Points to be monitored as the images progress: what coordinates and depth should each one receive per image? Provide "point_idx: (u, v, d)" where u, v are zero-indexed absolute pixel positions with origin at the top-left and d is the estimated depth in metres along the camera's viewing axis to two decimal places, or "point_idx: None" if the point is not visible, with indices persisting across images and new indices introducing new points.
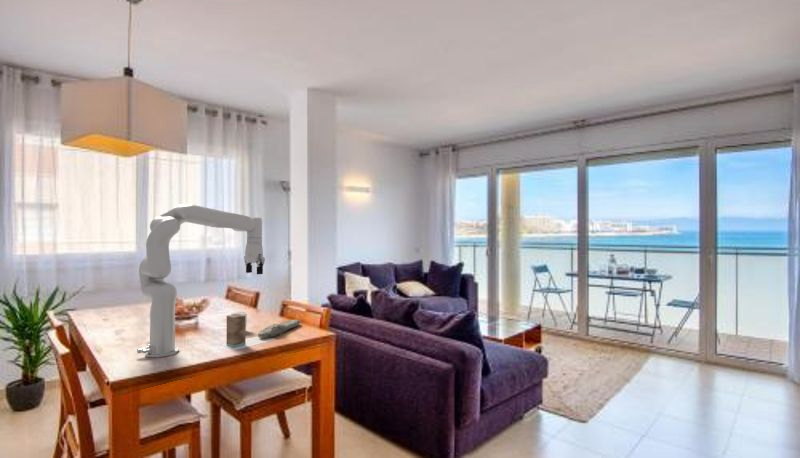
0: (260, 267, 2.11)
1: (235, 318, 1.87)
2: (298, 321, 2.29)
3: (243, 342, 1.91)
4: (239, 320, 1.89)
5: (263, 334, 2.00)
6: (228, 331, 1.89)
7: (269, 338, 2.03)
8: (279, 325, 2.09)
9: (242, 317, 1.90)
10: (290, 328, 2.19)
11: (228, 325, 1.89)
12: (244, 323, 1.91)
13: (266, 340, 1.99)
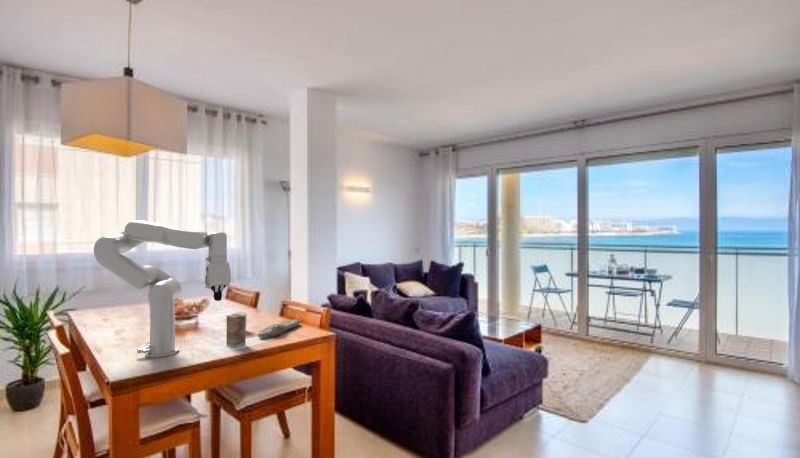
0: None
1: (235, 318, 1.87)
2: (298, 321, 2.29)
3: (243, 342, 1.91)
4: (239, 320, 1.89)
5: (263, 334, 2.00)
6: (228, 331, 1.89)
7: (269, 338, 2.03)
8: (279, 325, 2.09)
9: (242, 317, 1.90)
10: (290, 328, 2.19)
11: (228, 325, 1.89)
12: (244, 323, 1.91)
13: (266, 340, 1.99)
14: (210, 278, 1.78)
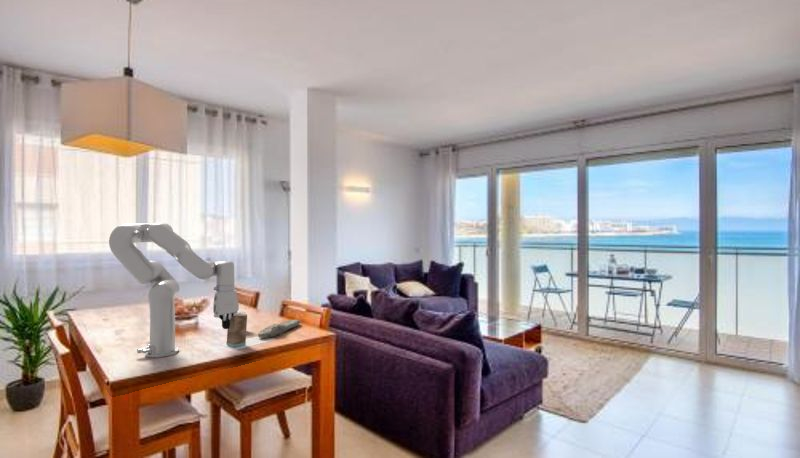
0: None
1: (237, 317, 1.88)
2: (298, 321, 2.29)
3: (243, 342, 1.91)
4: (240, 319, 1.89)
5: (263, 334, 2.00)
6: (229, 330, 1.90)
7: (269, 338, 2.03)
8: (279, 325, 2.09)
9: (244, 317, 1.91)
10: (290, 328, 2.19)
11: None
12: (245, 323, 1.91)
13: (266, 340, 1.99)
14: (218, 307, 1.81)
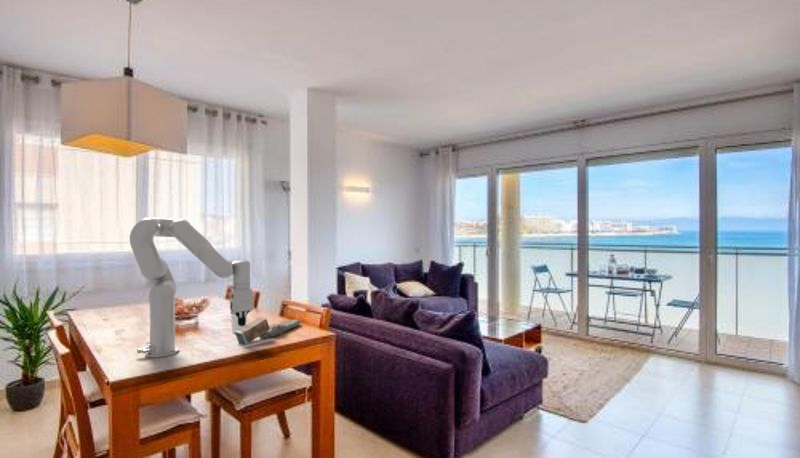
0: None
1: (266, 321, 2.00)
2: (298, 321, 2.29)
3: (247, 341, 1.92)
4: (265, 325, 2.00)
5: (263, 334, 2.00)
6: (248, 324, 1.98)
7: (269, 338, 2.03)
8: (279, 325, 2.09)
9: (267, 327, 2.01)
10: (290, 328, 2.20)
11: (253, 321, 2.00)
12: (263, 332, 1.99)
13: (266, 340, 1.99)
14: (235, 305, 1.88)
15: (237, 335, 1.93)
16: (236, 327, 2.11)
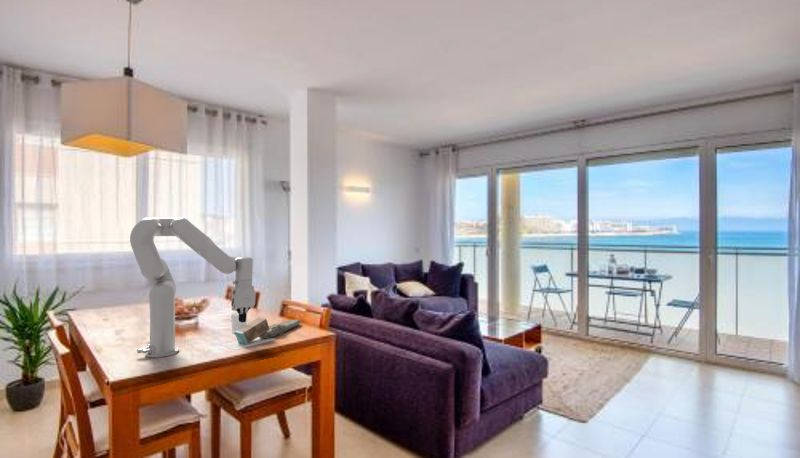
0: None
1: (265, 321, 2.00)
2: (298, 321, 2.29)
3: (247, 341, 1.92)
4: (264, 325, 2.00)
5: (263, 334, 2.00)
6: (248, 324, 1.98)
7: (269, 338, 2.03)
8: (279, 325, 2.09)
9: (267, 327, 2.01)
10: (290, 328, 2.20)
11: (253, 321, 2.00)
12: (263, 332, 1.99)
13: (266, 340, 1.99)
14: (236, 301, 1.88)
15: (237, 335, 1.93)
16: (236, 327, 2.11)
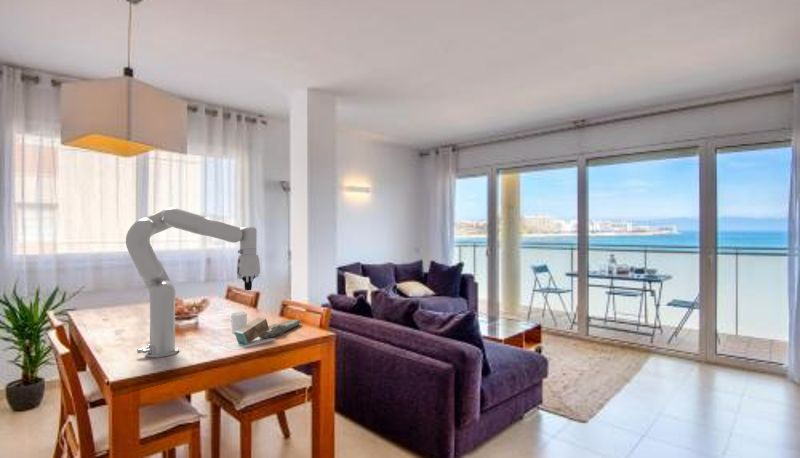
0: None
1: (265, 321, 2.00)
2: (298, 321, 2.29)
3: (247, 341, 1.92)
4: (264, 325, 2.00)
5: (263, 334, 2.00)
6: (248, 324, 1.98)
7: (269, 338, 2.03)
8: (279, 325, 2.09)
9: (267, 327, 2.01)
10: (290, 328, 2.20)
11: (253, 321, 2.00)
12: (262, 332, 1.99)
13: (266, 340, 1.99)
14: (242, 269, 1.93)
15: (237, 335, 1.93)
16: (236, 327, 2.11)
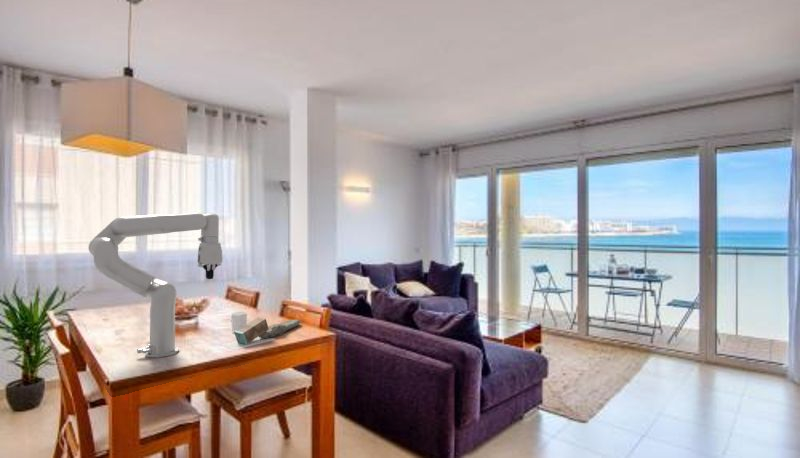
0: None
1: (265, 321, 2.00)
2: (298, 321, 2.29)
3: (247, 341, 1.92)
4: (264, 325, 2.00)
5: (263, 334, 2.00)
6: (247, 324, 1.98)
7: (269, 338, 2.03)
8: (279, 325, 2.09)
9: (266, 327, 2.01)
10: (290, 328, 2.20)
11: (253, 322, 2.00)
12: (262, 332, 1.99)
13: (266, 340, 1.99)
14: (202, 257, 1.88)
15: (237, 335, 1.93)
16: (236, 327, 2.11)
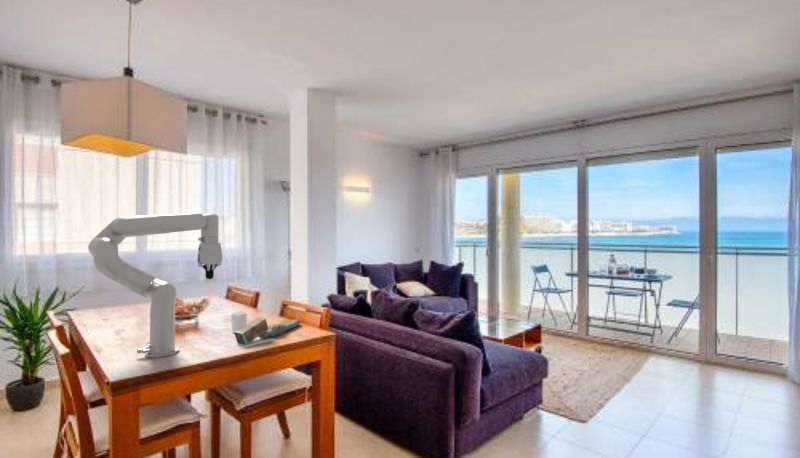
0: None
1: (265, 321, 2.01)
2: (298, 321, 2.29)
3: (247, 341, 1.92)
4: (264, 325, 2.00)
5: (263, 334, 2.00)
6: (247, 325, 1.98)
7: (269, 338, 2.03)
8: (279, 325, 2.09)
9: (266, 327, 2.01)
10: (290, 328, 2.20)
11: (252, 322, 2.00)
12: (262, 332, 1.99)
13: (266, 340, 1.99)
14: (202, 257, 1.88)
15: (236, 335, 1.93)
16: (236, 327, 2.11)
